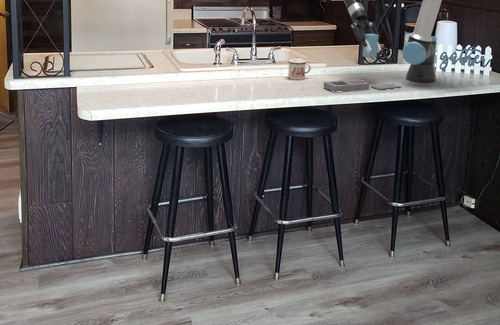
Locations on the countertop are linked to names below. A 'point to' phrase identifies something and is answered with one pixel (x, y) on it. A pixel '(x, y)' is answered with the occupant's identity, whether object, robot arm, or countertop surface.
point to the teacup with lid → (297, 68)
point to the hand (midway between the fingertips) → (374, 51)
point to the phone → (385, 87)
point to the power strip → (346, 85)
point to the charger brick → (371, 45)
